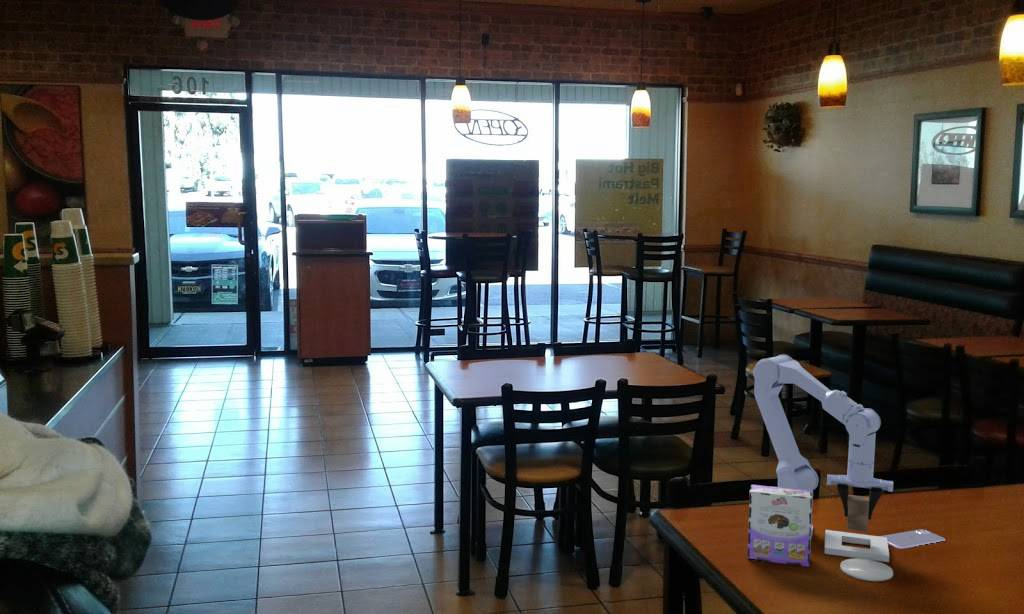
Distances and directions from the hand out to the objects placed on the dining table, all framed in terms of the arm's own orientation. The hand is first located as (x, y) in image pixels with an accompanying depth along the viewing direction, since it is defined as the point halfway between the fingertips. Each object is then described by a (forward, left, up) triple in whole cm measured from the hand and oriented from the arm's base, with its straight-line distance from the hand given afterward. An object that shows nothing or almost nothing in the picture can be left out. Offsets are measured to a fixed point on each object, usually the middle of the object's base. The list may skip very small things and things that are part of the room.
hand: (857, 516), depth 215 cm
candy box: (-17, -13, -8) cm, 23 cm away
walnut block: (0, 0, -3) cm, 3 cm away
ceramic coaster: (+2, -13, -8) cm, 15 cm away
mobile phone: (+13, +11, -8) cm, 19 cm away
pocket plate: (0, 0, -8) cm, 8 cm away
